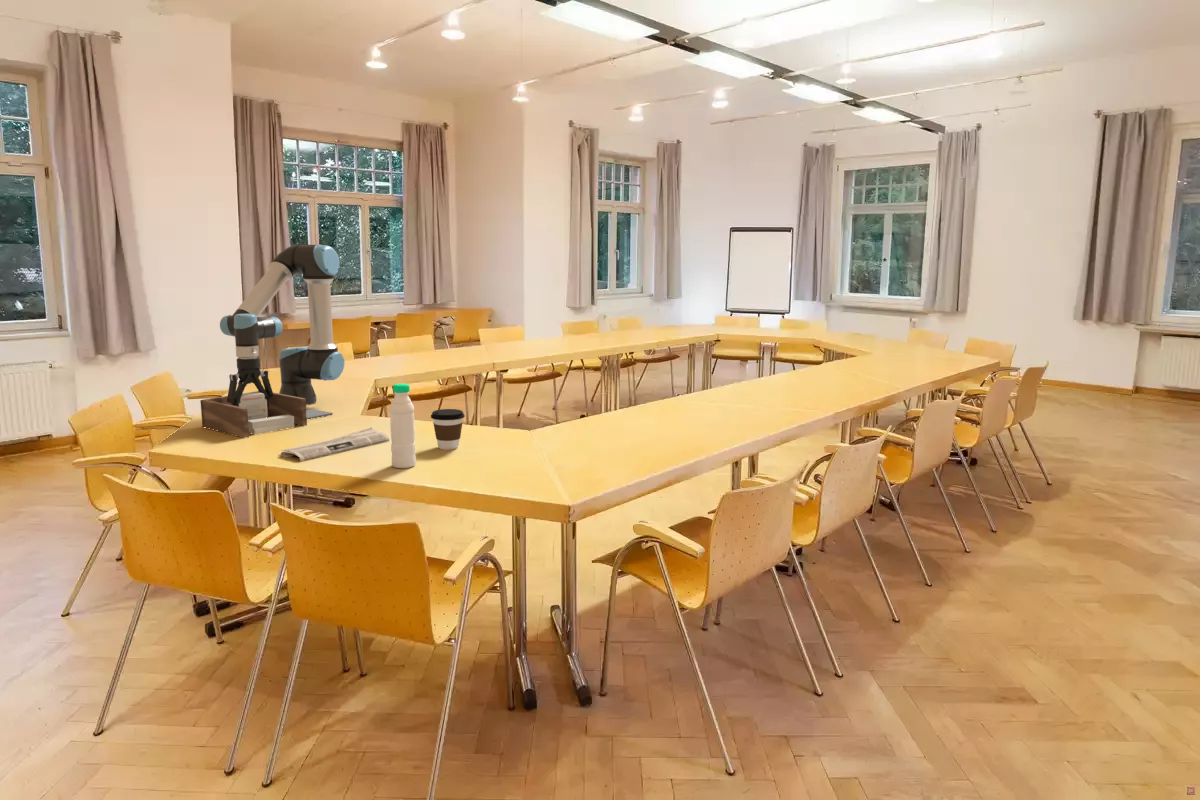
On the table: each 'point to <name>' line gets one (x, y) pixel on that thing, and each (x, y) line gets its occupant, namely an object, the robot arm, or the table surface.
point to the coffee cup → (447, 427)
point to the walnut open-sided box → (236, 418)
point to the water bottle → (402, 428)
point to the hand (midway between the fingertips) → (252, 418)
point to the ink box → (254, 405)
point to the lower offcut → (270, 428)
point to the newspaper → (337, 445)
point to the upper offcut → (270, 421)
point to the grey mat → (316, 413)
